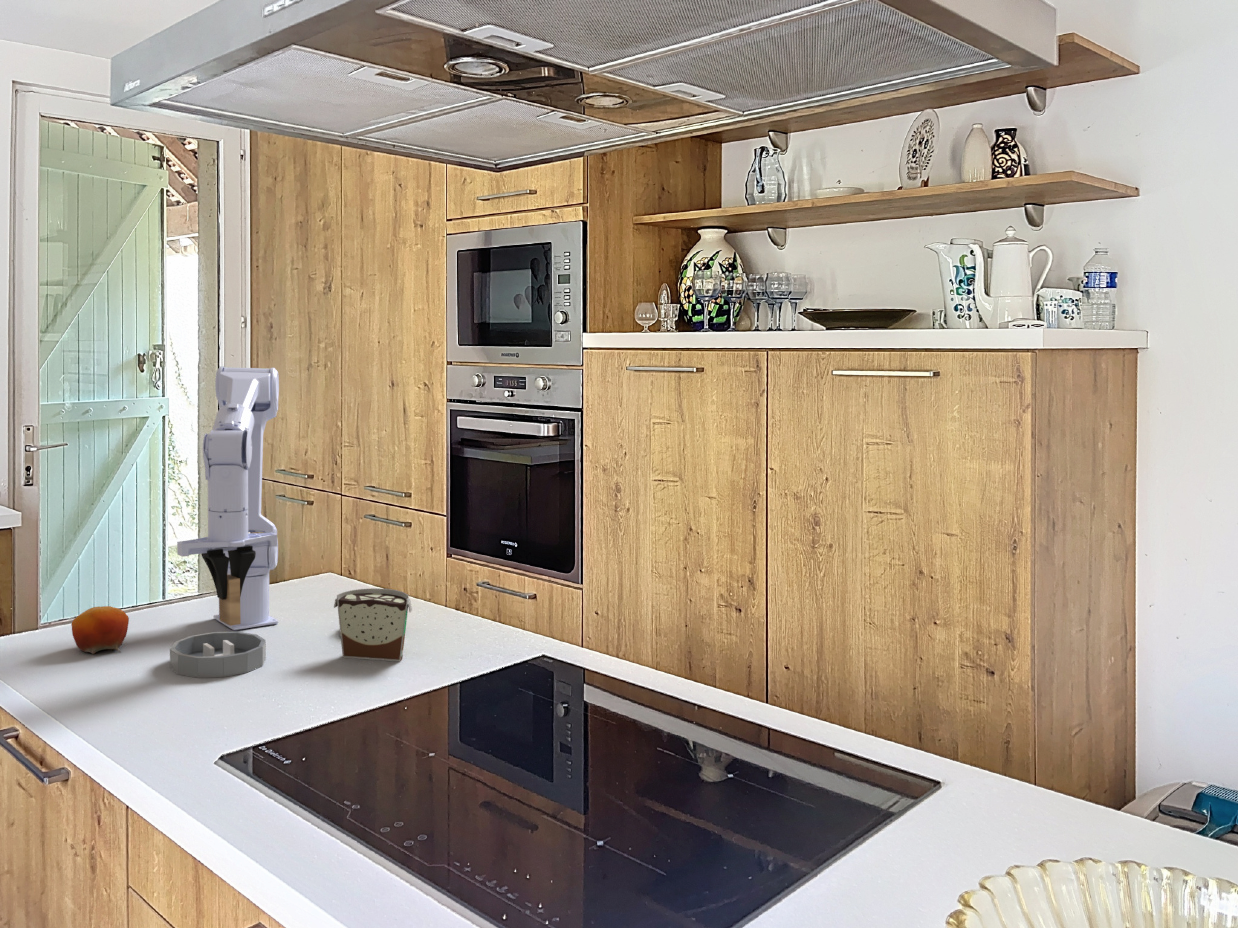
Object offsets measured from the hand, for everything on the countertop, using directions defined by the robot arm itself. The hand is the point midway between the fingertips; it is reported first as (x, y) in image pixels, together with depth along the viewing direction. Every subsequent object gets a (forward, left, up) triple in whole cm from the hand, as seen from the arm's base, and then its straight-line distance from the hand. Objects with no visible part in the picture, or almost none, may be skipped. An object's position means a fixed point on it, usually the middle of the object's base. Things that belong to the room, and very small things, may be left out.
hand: (228, 597), depth 160 cm
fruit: (-17, -14, -10) cm, 24 cm away
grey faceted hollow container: (0, -2, -10) cm, 10 cm away
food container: (+9, +20, -10) cm, 25 cm away
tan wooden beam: (0, 0, -4) cm, 4 cm away
